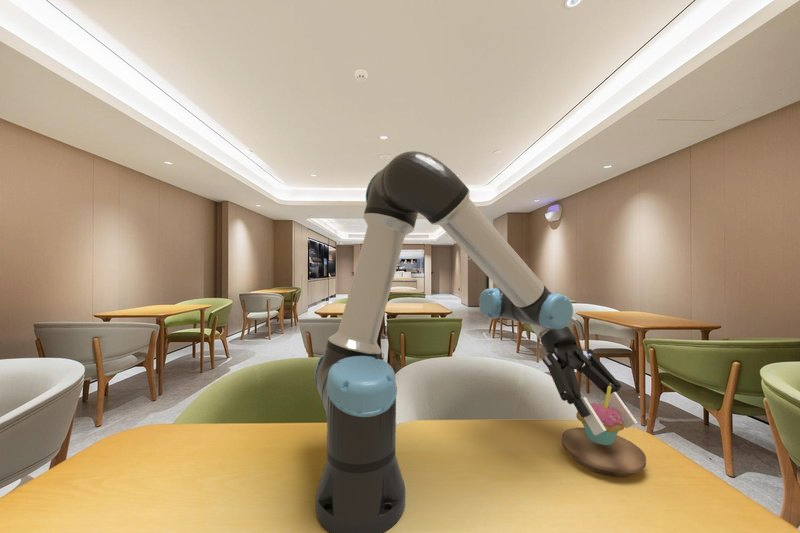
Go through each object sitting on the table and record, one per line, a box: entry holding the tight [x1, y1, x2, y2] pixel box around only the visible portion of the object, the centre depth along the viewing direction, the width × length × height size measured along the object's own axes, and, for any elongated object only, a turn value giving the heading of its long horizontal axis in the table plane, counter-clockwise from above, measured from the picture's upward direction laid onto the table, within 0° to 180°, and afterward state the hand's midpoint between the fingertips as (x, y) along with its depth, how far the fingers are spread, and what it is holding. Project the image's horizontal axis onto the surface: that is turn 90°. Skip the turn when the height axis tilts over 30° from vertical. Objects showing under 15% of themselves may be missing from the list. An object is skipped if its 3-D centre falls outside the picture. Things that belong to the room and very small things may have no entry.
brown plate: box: [560, 427, 647, 478], centre depth 67 cm, size 15×15×3 cm
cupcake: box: [575, 383, 625, 445], centre depth 67 cm, size 9×8×12 cm
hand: (616, 429), depth 64 cm, fingers closed on cupcake, 8 cm apart
